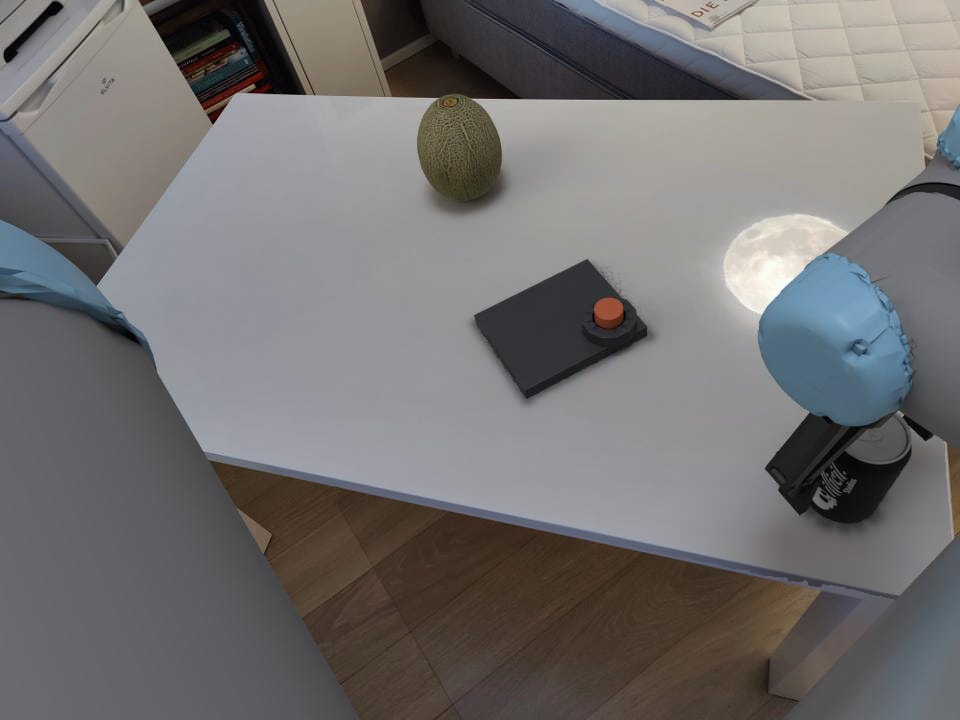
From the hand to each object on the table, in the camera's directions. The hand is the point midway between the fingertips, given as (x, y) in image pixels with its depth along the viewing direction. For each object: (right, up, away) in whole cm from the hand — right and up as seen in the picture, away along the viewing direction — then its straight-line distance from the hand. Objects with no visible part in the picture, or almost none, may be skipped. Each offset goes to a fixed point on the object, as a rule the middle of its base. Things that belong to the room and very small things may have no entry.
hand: (855, 464), depth 62 cm
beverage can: (+1, -4, +5) cm, 6 cm away
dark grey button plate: (-24, +13, +22) cm, 35 cm away
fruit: (-35, +33, +39) cm, 62 cm away
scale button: (-19, +14, +18) cm, 29 cm away
